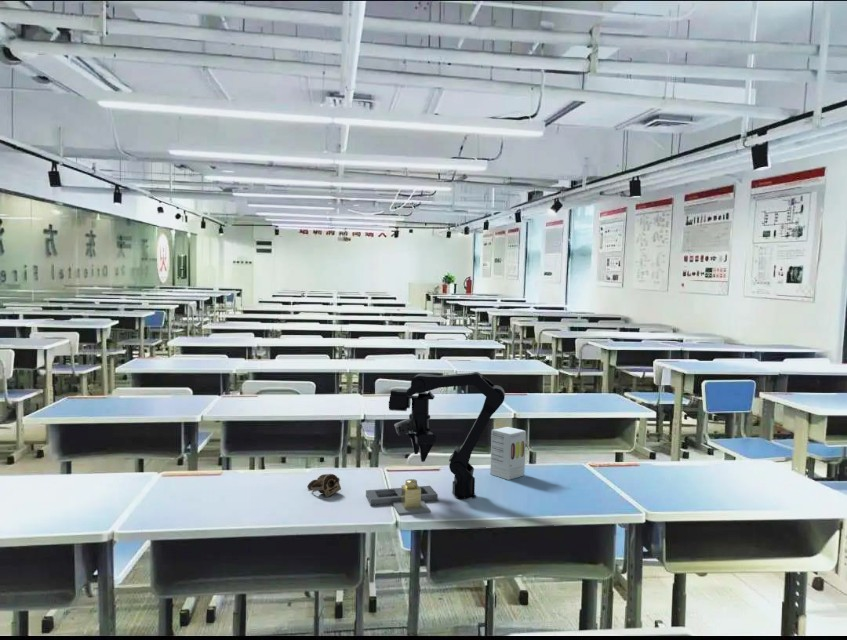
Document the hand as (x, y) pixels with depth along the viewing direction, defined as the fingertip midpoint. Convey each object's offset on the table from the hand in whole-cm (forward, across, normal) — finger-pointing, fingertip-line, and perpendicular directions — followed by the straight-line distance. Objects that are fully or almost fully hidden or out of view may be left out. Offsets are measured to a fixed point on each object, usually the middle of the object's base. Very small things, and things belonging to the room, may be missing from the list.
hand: (419, 457), depth 211 cm
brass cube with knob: (+11, +13, -6) cm, 18 cm away
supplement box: (+12, -12, +37) cm, 41 cm away
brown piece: (+12, -8, -31) cm, 34 cm away
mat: (+12, +13, -6) cm, 19 cm away
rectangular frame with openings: (+12, +4, -7) cm, 14 cm away
